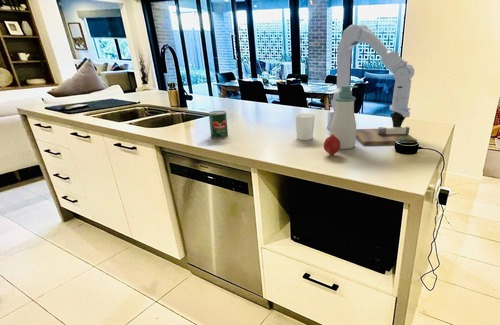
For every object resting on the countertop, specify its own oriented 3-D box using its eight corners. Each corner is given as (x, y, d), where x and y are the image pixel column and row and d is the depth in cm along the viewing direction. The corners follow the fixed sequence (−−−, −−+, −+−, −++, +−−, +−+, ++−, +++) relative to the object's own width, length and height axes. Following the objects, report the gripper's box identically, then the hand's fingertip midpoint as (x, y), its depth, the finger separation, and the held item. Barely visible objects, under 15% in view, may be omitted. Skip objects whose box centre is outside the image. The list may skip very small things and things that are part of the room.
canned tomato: (220, 132, 142) (218, 109, 138) (231, 135, 137) (229, 111, 133) (207, 136, 137) (205, 113, 133) (218, 139, 132) (215, 115, 128)
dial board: (363, 145, 115) (363, 141, 115) (350, 132, 132) (351, 129, 132) (416, 143, 114) (417, 139, 113) (397, 131, 131) (397, 127, 130)
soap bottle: (351, 151, 110) (356, 88, 101) (325, 148, 115) (328, 87, 106) (358, 144, 117) (363, 84, 109) (333, 141, 122) (336, 83, 114)
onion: (321, 153, 110) (321, 132, 107) (336, 151, 110) (337, 130, 107) (326, 158, 104) (327, 136, 101) (342, 157, 105) (343, 135, 102)
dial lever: (379, 135, 121) (379, 128, 120) (376, 133, 124) (377, 126, 123) (409, 134, 120) (410, 128, 119) (406, 132, 123) (407, 126, 122)
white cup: (315, 135, 130) (316, 113, 127) (312, 141, 123) (313, 117, 120) (297, 135, 133) (297, 112, 129) (293, 140, 126) (293, 116, 122)
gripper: (420, 100, 111) (414, 135, 116) (403, 94, 124) (399, 125, 129) (400, 100, 111) (395, 135, 116) (386, 94, 125) (382, 126, 130)
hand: (396, 130), depth 123 cm, fingers closed, pressing on dial lever
